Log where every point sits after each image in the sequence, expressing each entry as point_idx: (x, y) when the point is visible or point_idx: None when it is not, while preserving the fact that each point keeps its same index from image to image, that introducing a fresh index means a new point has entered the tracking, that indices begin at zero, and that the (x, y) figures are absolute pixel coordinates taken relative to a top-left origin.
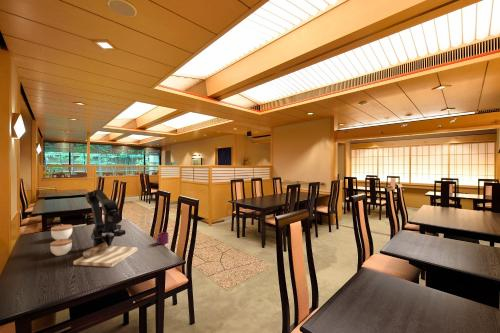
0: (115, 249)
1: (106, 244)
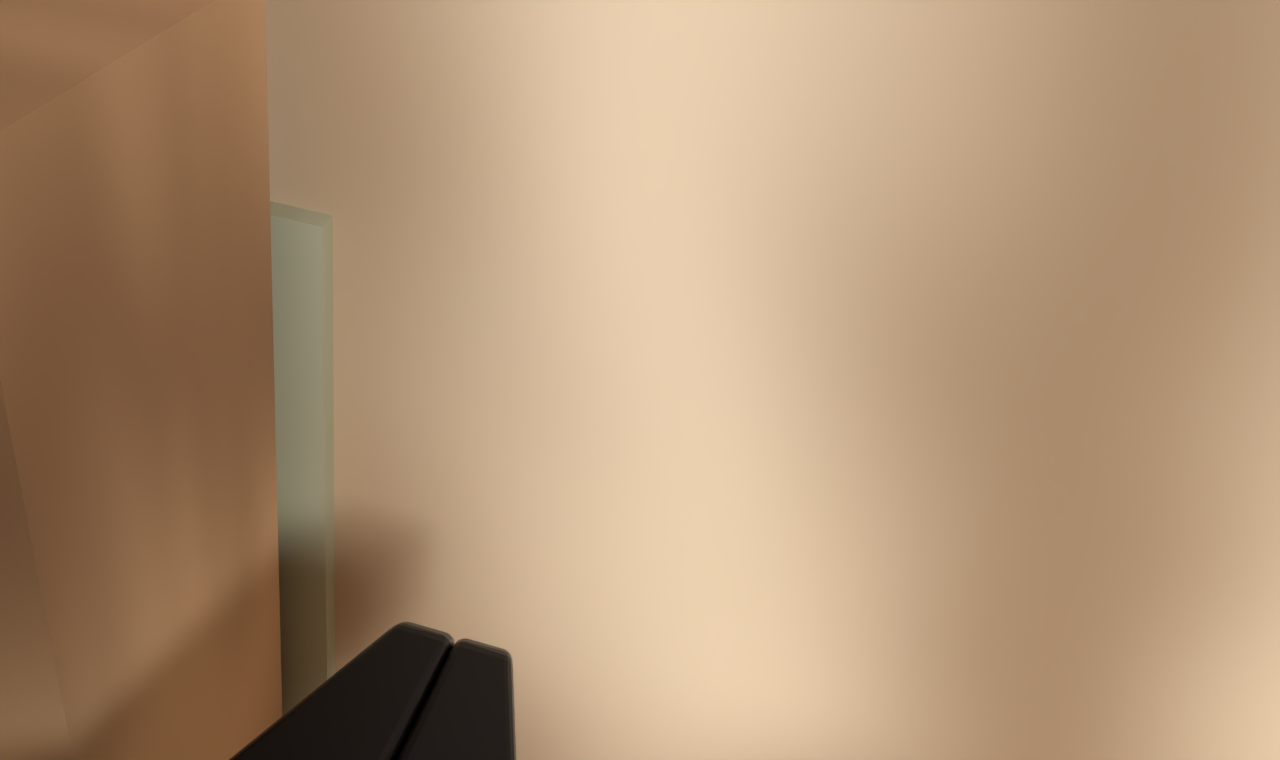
0: (998, 598)
1: (118, 681)
